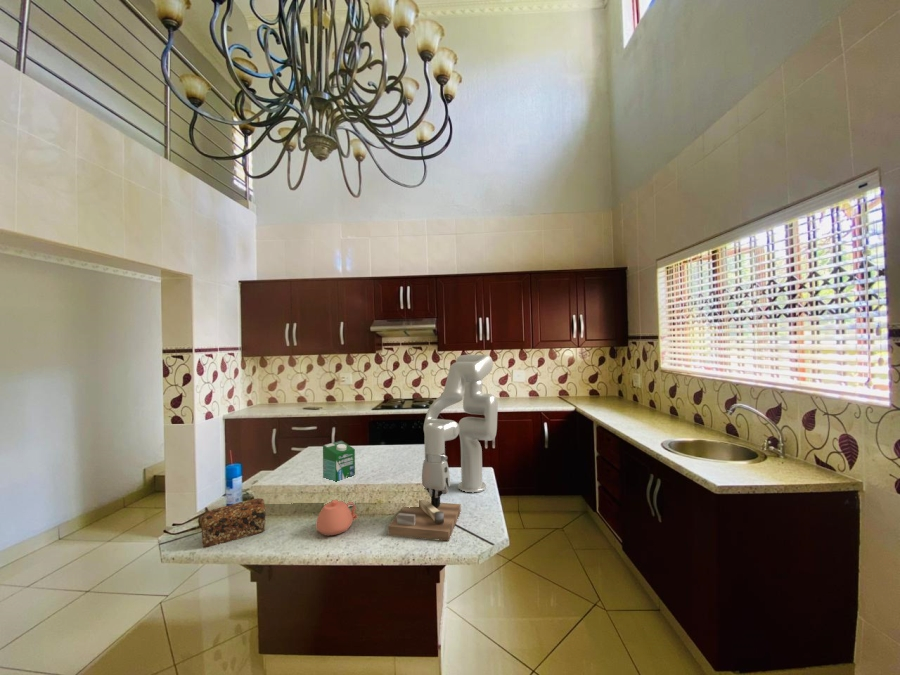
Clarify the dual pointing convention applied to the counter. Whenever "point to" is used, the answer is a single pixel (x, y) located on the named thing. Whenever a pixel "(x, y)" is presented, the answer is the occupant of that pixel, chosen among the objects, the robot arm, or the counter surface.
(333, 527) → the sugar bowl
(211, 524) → the bread
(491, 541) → the counter surface
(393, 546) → the counter surface
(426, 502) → the folding leg
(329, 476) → the milk carton
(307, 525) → the counter surface
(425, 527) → the wooden board
